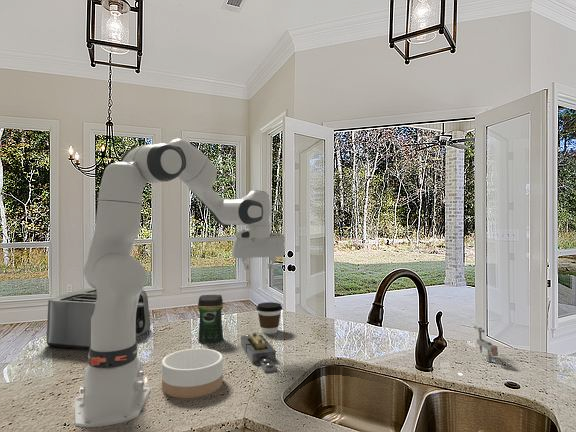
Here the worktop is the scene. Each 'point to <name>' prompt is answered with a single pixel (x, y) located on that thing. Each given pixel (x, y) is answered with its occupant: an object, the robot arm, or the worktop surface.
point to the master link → (257, 342)
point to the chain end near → (263, 357)
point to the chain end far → (248, 341)
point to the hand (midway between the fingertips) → (258, 269)
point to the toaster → (83, 318)
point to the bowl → (192, 373)
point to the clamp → (486, 345)
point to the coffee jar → (210, 319)
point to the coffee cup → (269, 316)
